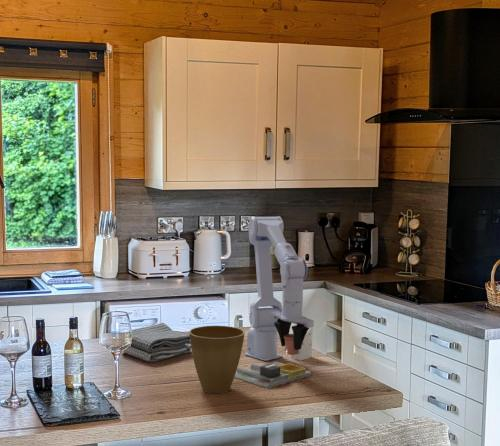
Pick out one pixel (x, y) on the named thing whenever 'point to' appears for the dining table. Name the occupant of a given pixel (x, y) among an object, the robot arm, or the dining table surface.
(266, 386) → the panel
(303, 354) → the white angled block
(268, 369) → the switch
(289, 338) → the cap
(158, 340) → the towel
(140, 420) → the dining table surface
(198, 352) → the plant pot
